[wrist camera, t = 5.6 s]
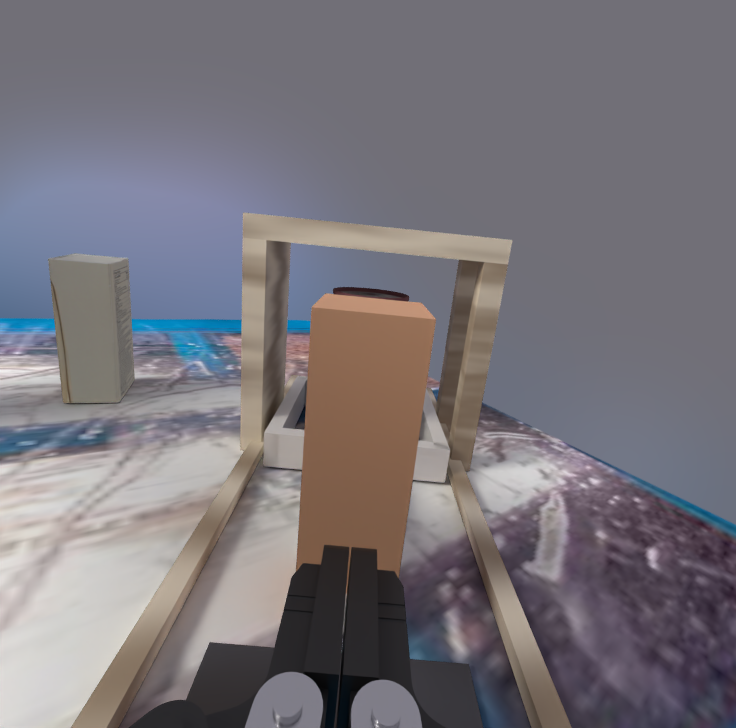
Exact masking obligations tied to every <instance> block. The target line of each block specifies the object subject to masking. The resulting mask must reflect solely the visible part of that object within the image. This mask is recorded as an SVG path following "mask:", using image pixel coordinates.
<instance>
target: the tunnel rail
mask: <svg viewBox="0 0 736 728" xmlns="http://www.w3.org/2000/svg"><path fill="white" fill-rule="evenodd" d="M291 243H301V244H311V245H320V246H331V247H340V248H350V249H360V250H370V251H380V252H391V253H400V254H410V255H419V256H429V257H440V258H450V259H459V263H458V269H457V277H456V282H455V289H454V295H453V302H452V309H451V315H450V321H449V328H448V334H447V341H446V347H445V354H444V361H443V367H442V373H441V380H440V386H439V393H438V399H437V402H436V399H435V397H434V394H433V392H432V390H431V388H427V391H428V393H429V396H430V399H431V401H432V404H433V406H434V409H435V412H436V414H437V417H438V419H439V422H440V425H441V427H442V430H443V432H444V435H445V438H446V440H447V443H448V446H449V448H450V455H449V461H448V466H447V474H448V477H449V480H450V483H451V486H452V489H453V492H454V495H455V498H456V501H457V504H458V507H459V510H460V513H461V516H462V519H463V522H464V525H465V528H466V531H467V534H468V537H469V540H470V543H471V546H472V549H473V552H474V555H475V558H476V562H477V565H478V568H479V571H480V574H481V577H482V580H483V583H484V586H485V589H486V592H487V595H488V598H489V601H490V604H491V607H492V610H493V613H494V616H495V619H496V622H497V625H498V628H499V631H500V634H501V637H502V640H503V643H504V646H505V649H506V652H507V655H508V658H509V661H510V664H511V667H512V670H513V673H514V676H515V679H516V682H517V685H518V688H519V691H520V694H521V697H522V700H523V704H524V707H525V710H526V713H527V716H528V719H529V722H530V725H531V728H572V727H571V725H570V722H569V720H568V718H567V715H566V713H565V710H564V708H563V706H562V703H561V701H560V698H559V696H558V693H557V691H556V689H555V686H554V684H553V681H552V679H551V677H550V674H549V672H548V669H547V667H546V665H545V662H544V660H543V657H542V655H541V652H540V650H539V648H538V645H537V643H536V640H535V638H534V636H533V633H532V631H531V628H530V626H529V624H528V621H527V619H526V616H525V614H524V611H523V609H522V607H521V604H520V602H519V599H518V597H517V595H516V592H515V590H514V587H513V585H512V583H511V580H510V578H509V575H508V573H507V570H506V568H505V566H504V563H503V561H502V558H501V556H500V554H499V551H498V549H497V546H496V544H495V542H494V539H493V537H492V534H491V532H490V529H489V527H488V525H487V522H486V520H485V517H484V515H483V513H482V510H481V508H480V505H479V503H478V501H477V498H476V496H475V493H474V491H473V488H472V486H471V484H470V481H469V479H468V476H467V474H466V472H465V471H469V469H470V464H471V459H472V453H473V448H474V443H475V437H476V432H477V427H478V421H479V416H480V411H481V405H482V400H483V394H484V389H485V384H486V378H487V373H488V368H489V362H490V357H491V352H492V346H493V341H494V336H495V330H496V324H497V319H498V314H499V309H500V304H501V298H502V293H503V287H504V282H505V276H506V271H507V266H508V260H509V255H510V249H511V245H512V240H506V239H497V238H487V237H476V236H467V235H457V234H447V233H438V232H428V231H418V230H408V229H399V228H388V227H379V226H369V225H359V224H350V223H340V222H330V221H320V220H310V219H301V218H291V217H281V216H270V215H261V214H251V213H243V265H242V266H243V267H242V351H241V437H240V450H245V451H244V453H243V454H242V456H241V457H240V459H239V461H238V462H237V464H236V465H235V467H234V468H233V470H232V472H231V473H230V475H229V476H228V478H227V480H226V481H225V483H224V484H223V486H222V488H221V489H220V491H219V492H218V494H217V496H216V497H215V499H214V500H213V502H212V504H211V505H210V507H209V508H208V510H207V512H206V513H205V515H204V516H203V518H202V519H201V521H200V523H199V524H198V526H197V527H196V529H195V531H194V532H193V534H192V535H191V537H190V539H189V540H188V542H187V543H186V545H185V547H184V548H183V550H182V551H181V553H180V555H179V556H178V558H177V559H176V561H175V563H174V564H173V566H172V567H171V569H170V570H169V572H168V574H167V575H166V577H165V578H164V580H163V582H162V583H161V585H160V586H159V588H158V590H157V591H156V593H155V594H154V596H153V598H152V599H151V601H150V602H149V604H148V606H147V607H146V609H145V610H144V612H143V614H142V615H141V617H140V618H139V620H138V621H137V623H136V625H135V626H134V628H133V629H132V631H131V633H130V634H129V636H128V637H127V639H126V641H125V642H124V644H123V645H122V647H121V649H120V650H119V652H118V653H117V655H116V657H115V658H114V660H113V661H112V663H111V665H110V666H109V668H108V669H107V671H106V672H105V674H104V676H103V677H102V679H101V680H100V682H99V684H98V685H97V687H96V688H95V690H94V692H93V693H92V695H91V696H90V698H89V700H88V701H87V703H86V704H85V706H84V708H83V709H82V711H81V712H80V714H79V716H78V717H77V719H76V720H75V722H74V723H73V725H72V727H71V728H119V726H120V724H121V722H122V720H123V718H124V716H125V714H126V713H127V711H128V709H129V707H130V705H131V703H132V701H133V699H134V697H135V696H136V694H137V692H138V690H139V688H140V686H141V684H142V682H143V680H144V679H145V677H146V675H147V673H148V671H149V669H150V667H151V665H152V663H153V661H154V660H155V658H156V656H157V654H158V652H159V650H160V648H161V646H162V644H163V643H164V641H165V639H166V637H167V635H168V633H169V631H170V629H171V627H172V626H173V624H174V622H175V620H176V618H177V616H178V614H179V612H180V610H181V608H182V607H183V605H184V603H185V601H186V599H187V597H188V595H189V593H190V591H191V590H192V588H193V586H194V584H195V582H196V580H197V578H198V576H199V574H200V573H201V571H202V569H203V567H204V565H205V563H206V561H207V559H208V557H209V555H210V554H211V552H212V550H213V548H214V546H215V544H216V542H217V540H218V538H219V537H220V535H221V533H222V531H223V529H224V527H225V525H226V523H227V521H228V520H229V518H230V516H231V514H232V512H233V510H234V508H235V506H236V504H237V502H238V501H239V499H240V497H241V495H242V493H243V491H244V489H245V487H246V485H247V484H248V482H249V480H250V478H251V476H252V474H253V472H254V470H255V468H256V467H257V465H258V463H259V461H260V459H261V457H262V455H263V452H264V432H265V430H266V429H267V427H268V425H269V423H270V422H271V420H272V418H273V417H274V415H275V413H276V411H277V410H278V408H279V406H280V405H281V403H282V401H283V399H284V398H285V396H286V394H287V393H288V391H289V389H290V387H291V386H292V384H293V382H294V381H295V379H296V377H297V375H292V376H291V378H290V379H289V381H288V382H287V384H286V386H285V363H286V340H287V316H288V293H289V270H290V269H289V268H290V246H291ZM449 432H450V433H449ZM273 652H274V648H271V647H259V646H247V645H235V644H223V643H212V642H210V643H209V645H208V648H207V650H206V653H205V655H204V658H203V660H202V662H201V665H200V667H199V670H198V672H197V675H196V677H195V679H194V682H193V684H192V687H191V689H190V692H189V694H188V696H187V699H186V701H190V702H192V703H194V704H196V705H197V706H199V707H200V709H201V710H202V711H203V713H204V715H209V714H212V713H216V712H220V711H223V710H227V709H230V708H233V707H236V706H238V705H240V704H242V703H244V702H245V701H247V700H248V699H250V698H251V697H252V696H253V695H254V694H255V693H256V692H257V691H258V690H259V689H260V687H261V686H262V684H263V683H264V681H265V679H266V677H267V675H268V672H269V668H270V664H271V660H272V656H273ZM341 658H342V653H341ZM410 668H411V679H412V686H413V690H414V694H415V696H416V698H417V700H418V702H419V704H420V705H421V707H422V708H423V710H424V711H425V712H426V713H427V714H428V715H429V716H430V717H431V718H432V719H433V720H435V721H436V722H437V723H439V724H441V725H442V726H444V727H446V728H483V724H482V720H481V715H480V711H479V707H478V702H477V698H476V694H475V689H474V685H473V681H472V676H471V672H470V668H469V664H461V663H449V662H437V661H425V660H413V659H410ZM340 671H341V663H340ZM339 684H340V675H339ZM338 697H339V685H338V694H337V703H336V713H335V722H334V728H336V723H337V710H338Z"/></svg>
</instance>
